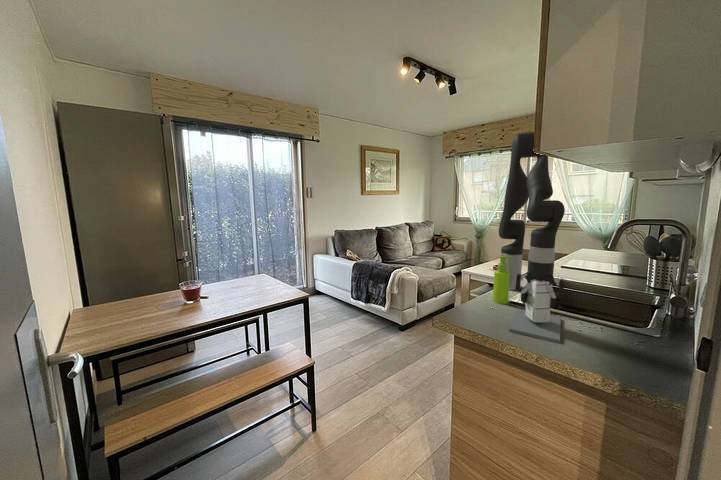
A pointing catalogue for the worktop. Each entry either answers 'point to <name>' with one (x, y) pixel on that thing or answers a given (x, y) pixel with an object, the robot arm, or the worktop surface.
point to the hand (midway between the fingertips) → (537, 305)
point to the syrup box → (538, 302)
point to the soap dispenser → (501, 282)
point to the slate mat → (536, 327)
